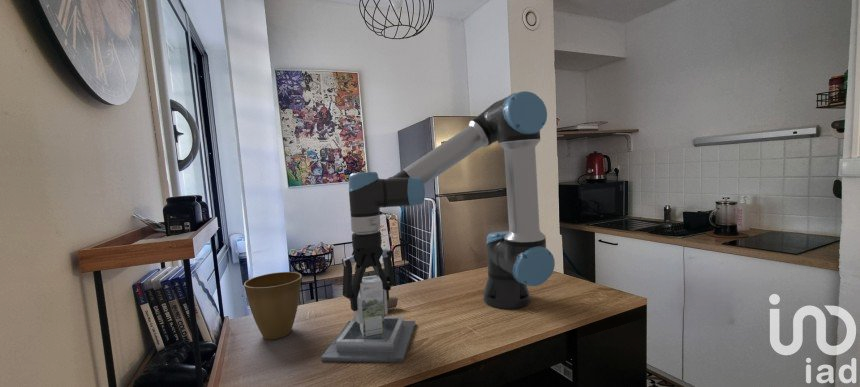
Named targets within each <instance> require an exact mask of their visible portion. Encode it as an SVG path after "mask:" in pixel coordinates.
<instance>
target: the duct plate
mask: <svg viewBox="0 0 860 387" xmlns="http://www.w3.org/2000/svg"><path fill="white" fill-rule="evenodd" d="M384 327H385V333H384V334H380V335H376V336H371V337H366V338H364V337H363V335H362V332H361V330H360V324H359V323H358V322H356V321H355V316H354V317H353V318H352V320H348V322H347V323H346V324H345V326H344V327H343V328H342V330H341V331H340V332H339V333H338V335H337V336H336V337H335V338H334V340H333V341H331V344H330V345H329V346H328V347H327V349H326V350H325V352H324V353H323V354H322V356H321V357H320V358H321V359H320V361H321V362H337V363H338V362H340V363H341V362H345V363H347V362H348V363H352V362H353V363H404V361H405V357H406V354H407V352H408V348H409V345H410V343H411V340H412V336H413V333H414V331H415V327H416V320H405V317H404V316H384Z"/></svg>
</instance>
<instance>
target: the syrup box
mask: <svg viewBox="0 0 860 387" xmlns="http://www.w3.org/2000/svg"><path fill="white" fill-rule="evenodd" d="M358 297H360V298H361V310H362V323H361V324H360V330H361V332H362V335H363V337H364V338H366V337H371V336H376V335H380V334H384V333H385V327H384V317H385V315H384V307H383V285H382V281H381V279H380V278H379V276H377V275H376V274H375V275H369V276H363V278H362V282H361V283H360V290H359V294H358Z"/></svg>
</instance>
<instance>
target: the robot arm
mask: <svg viewBox="0 0 860 387" xmlns="http://www.w3.org/2000/svg"><path fill="white" fill-rule="evenodd" d="M547 118H548V110H547V107H546V104H545V102H544V101H543V99H542V98H540V96H538V95H537V94H536V93H534V92H531V91H527V90H525V91H523V90H522V91H519V92H513V93H511V94H510V95H508V96H506V97H504V98H501V99H499V100H497V101H495V102H493V104H491V105H490V106H489V107H487V108H486V109H485V110H484V111H483V112H482V113H481V112H480V114H479V115H477V116H475V117H474V118H473V119H471V120H470V121H468V126H467V127H466V128H463V130H461V131H460V132H458V133H456V134H455V135H453V136H451V137H450V138H449V139H448V140H447V139H446V141H444V142H443V143H441V144H440V145H439V146H436V147H435V148H434V149H432V150H431V151H429V152H428V153H426V154H424V155H422V157H420V158H419V159H417V160H416V161H413V162H412V163H411V164H409V165H408V166H406V167H405V168H403V169H402V170H400V171H399V172H397V173H396V174H394V175H393V176H389V177H388V178H379V175H378V172H376V171H370V172H366V171H365V172H364V171H363V172H352V173H350V174H349V176H348V196H349V209H350V226H351V231H352V234H351V244H352V253H351V255H350V256H348V257H342V258H341V263H342V266H343V275H342V277H343V279H342V296H343V297H345V298H346V299H348V300H349V298H350V300H349V301H350V309H351V310H352V311H353V314H354V317H355V321H356V322H358V323H359V324H361V323H362V310H361V298H360V297H358V294H359V290H360V283H361V282H362V278H363V277H364V274H365V273H366V269H369V268H371V267H372V269H373V270H374V272H375V275H377V276H379V278H380V279H381V281H382V285H383V307H384V316H387V315H388V309H387V301H388V300H389V297H390V290H392V287H393V286H395V285H396V281H395V274H394V268H393V262H392V261H393V260H392V256H393V251H392V250H391V249H387V248H385V249H383V247H382V232H381V231H380V229H381V227H382V226H381V214H380V213H381V212H380V209H381V208H384V209H385V208H392V207H393V208H394V207H396V208H397V207H414V206H420V205H423V203H424V202H425V200H426V188H425V187H426V186H425V185H427V184H428V183H430V182H431V181H433V180H434V179H436V178H437V177H439V176H440V175H441V174H443V173H445V172H446V171H448V170H449V169H450V168H452V167H453V166H455V165H457V164H458V163H459V162H461V161H462V160H464V159H466V158H467V157H468V156H470V155H471V154H473V153H475V151H477V150H479V149H480V148H483V149H484V148H487V147H490V146H491V145H492V144H494V143H496V142H498V145H499V146H500V148H502V149H503V153H504V167H505V168H504V169H505V170H504V172H505V184H506V185H505V186H506V201H507V202H506V203H507V218H508V219H507V220H508V230H506V231H496V232H490V233H488V234H487V236H486V242H485V244H486V255H487V256H486V261H487V262H486V263H487V279H486V283H485V287H484V290H483V301H484V303H485V304H486V305H488V306H490V307H493V308H495V309H496V308H498V309H504V310H506V309H508V310H509V309H510V310H513V309H520V308H521V309H522V308H524V307H526V306H528V305H529V304H530V302H531V294H530V292H529V288H528V287H537V286H540V285H542V284H544V283H546V282H547V281H548V280H549V278H550V277H551V276H552V275H553V272H554V270H555V267H556V266H555V265H556V264H555V263H556V262H555V256H554V254H553V253H552V252H551V250H549V249H548V248H547V240H546V239H547V238H546V234H544V233H543V232H542V231H541V230H540V214H539V212H540V210H539V195H538V194H539V193H538V177H537V176H538V173H537V159H536V158H537V157H536V156H537V155H536V146H537V145H538V144H539V143H540V142H541V130H542V129H543V127H544V126H545V125H546V123H547ZM381 257H382V261H383V265H382V263H381V261H380V260H381ZM354 263H355V267H354V269H355V270H354V275H353V265H354ZM382 267H383V268H382ZM383 269H384V270H383Z"/></svg>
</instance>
